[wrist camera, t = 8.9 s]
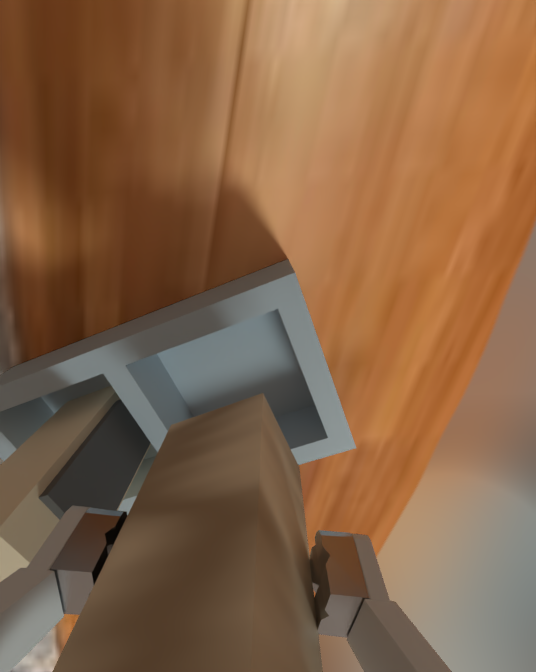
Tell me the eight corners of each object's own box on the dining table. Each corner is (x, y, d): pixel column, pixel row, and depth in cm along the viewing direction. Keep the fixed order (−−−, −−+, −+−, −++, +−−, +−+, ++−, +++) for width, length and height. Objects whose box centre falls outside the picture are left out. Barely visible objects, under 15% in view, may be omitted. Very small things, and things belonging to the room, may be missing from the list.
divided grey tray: (104, 477, 22) (-15, 671, 13) (14, 366, 18) (-247, 523, 9) (338, 403, 19) (405, 575, 10) (288, 258, 16) (319, 321, 7)
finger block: (207, 494, 13) (98, 970, 5) (162, 427, 12) (-97, 930, 3) (299, 466, 13) (356, 962, 4) (263, 392, 11) (241, 909, 3)
